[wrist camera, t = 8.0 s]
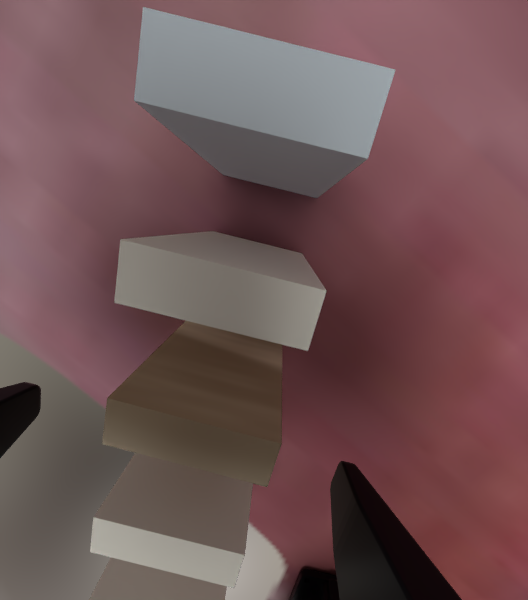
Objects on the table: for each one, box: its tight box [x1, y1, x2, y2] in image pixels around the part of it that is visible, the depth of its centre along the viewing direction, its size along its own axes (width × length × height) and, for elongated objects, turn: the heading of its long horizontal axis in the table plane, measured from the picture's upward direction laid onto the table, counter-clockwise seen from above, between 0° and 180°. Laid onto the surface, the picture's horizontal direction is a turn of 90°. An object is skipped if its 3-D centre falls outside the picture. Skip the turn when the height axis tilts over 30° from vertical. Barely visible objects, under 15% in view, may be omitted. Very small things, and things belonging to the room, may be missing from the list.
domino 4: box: [90, 453, 253, 588], centre depth 14 cm, size 2×5×9 cm, turn 77°
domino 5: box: [89, 557, 227, 600], centre depth 15 cm, size 2×5×9 cm, turn 76°
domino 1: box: [134, 7, 395, 198], centre depth 10 cm, size 2×5×9 cm, turn 76°
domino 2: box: [114, 231, 327, 351], centre depth 11 cm, size 2×5×9 cm, turn 76°
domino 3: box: [102, 321, 282, 487], centre depth 12 cm, size 2×5×9 cm, turn 76°
